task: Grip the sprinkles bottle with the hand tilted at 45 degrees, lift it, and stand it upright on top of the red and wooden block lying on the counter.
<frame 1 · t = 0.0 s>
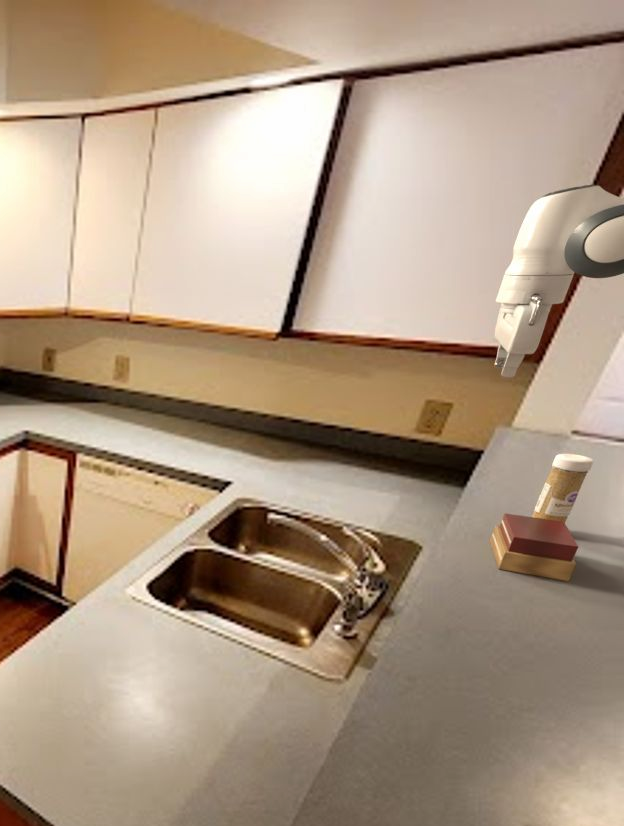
hand: (503, 371, 115), 25 cm above the countertop, tool pointing down, fingers open, 8 cm apart
red and wooden block: (526, 559, 101), on the countertop
sprinkles bottle: (543, 530, 110), on the countertop
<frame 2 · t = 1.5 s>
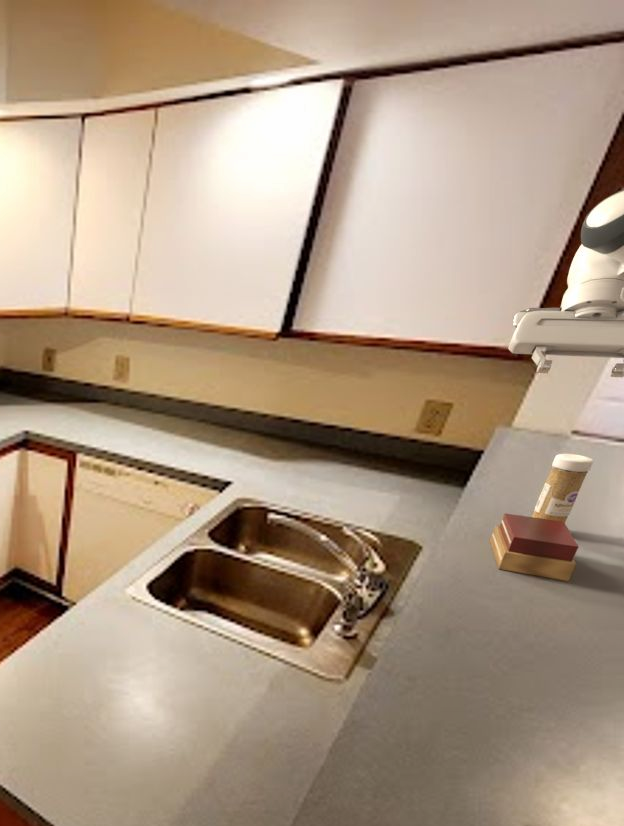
hand: (579, 373, 109), 25 cm above the countertop, tool tilted 45°, fingers open, 8 cm apart
nothing on the countertop moved.
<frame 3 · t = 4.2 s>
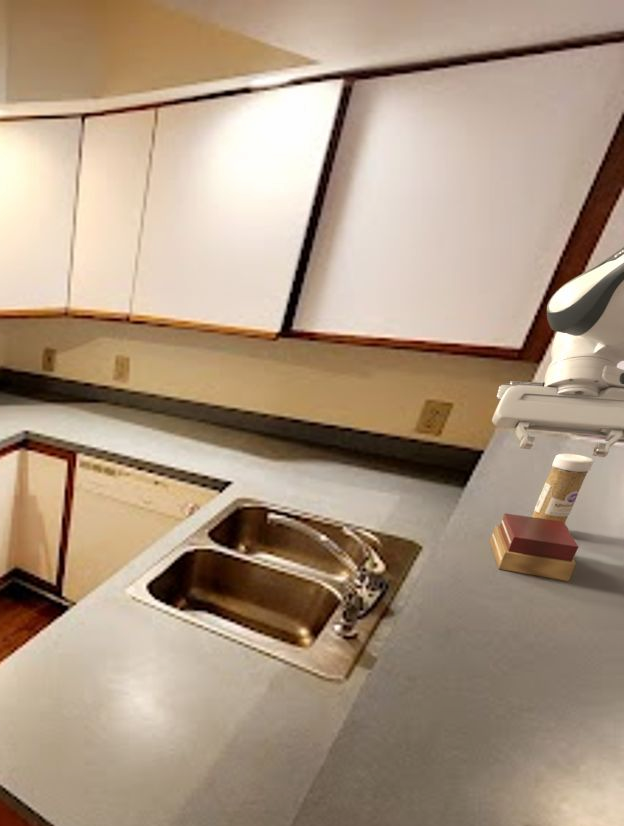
hand: (562, 451, 110), 13 cm above the countertop, tool tilted 45°, fingers open, 8 cm apart
nothing on the countertop moved.
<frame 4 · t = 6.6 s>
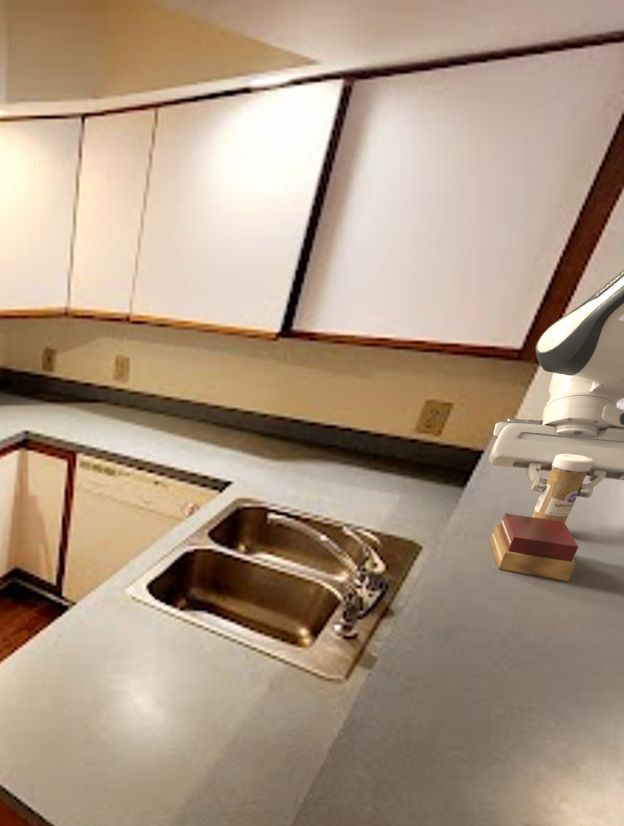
hand: (560, 492, 106), 7 cm above the countertop, tool tilted 45°, fingers closed on sprinkles bottle, 4 cm apart
sprinkles bottle: (543, 530, 110), on the countertop, touching gripper
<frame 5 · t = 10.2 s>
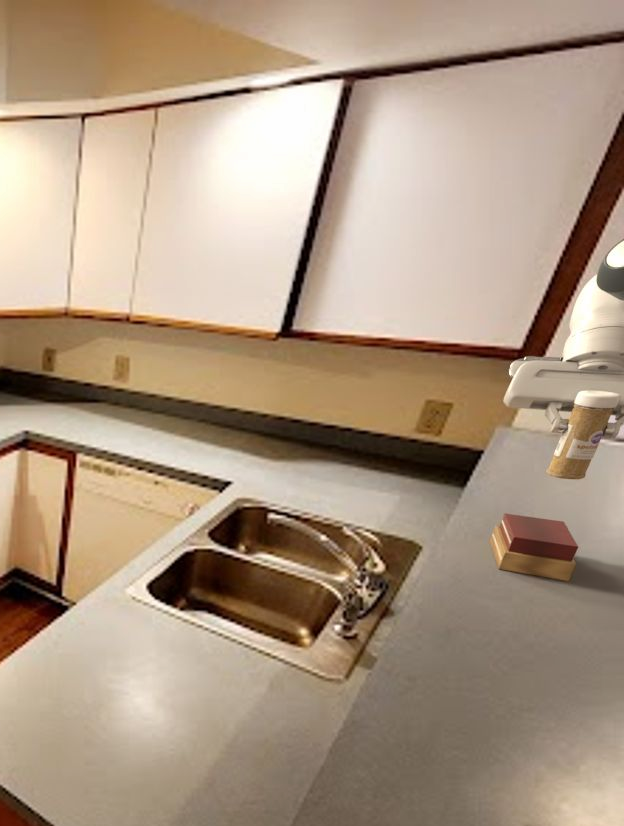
hand: (583, 433, 97), 19 cm above the countertop, tool tilted 45°, fingers closed on sprinkles bottle, 4 cm apart
sprinkles bottle: (564, 476, 101), point 12 cm above the countertop, touching gripper
when the fingers open (13 cm above the countertop, at t = 13.6 s): sprinkles bottle stays where it is, resting on red and wooden block.
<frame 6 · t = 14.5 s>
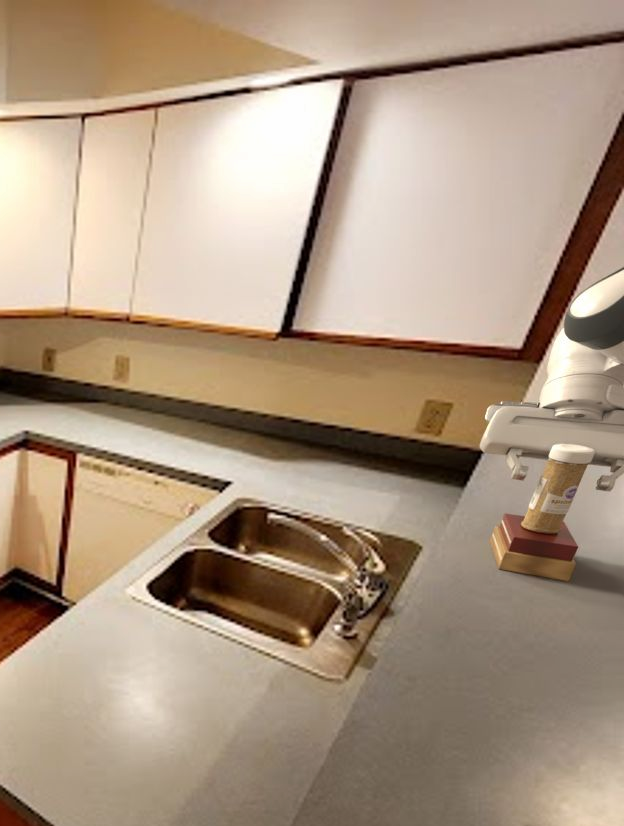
hand: (560, 483, 94), 13 cm above the countertop, tool tilted 45°, fingers open, 8 cm apart
sprinkles bottle: (538, 530, 98), point 5 cm above the countertop, touching red and wooden block
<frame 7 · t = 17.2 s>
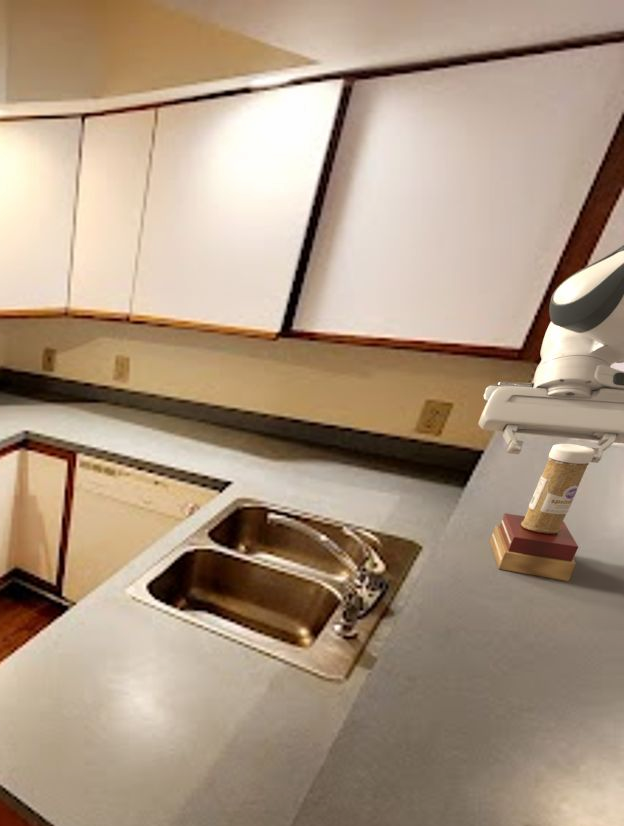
hand: (552, 456, 103), 14 cm above the countertop, tool tilted 45°, fingers open, 8 cm apart
nothing on the countertop moved.
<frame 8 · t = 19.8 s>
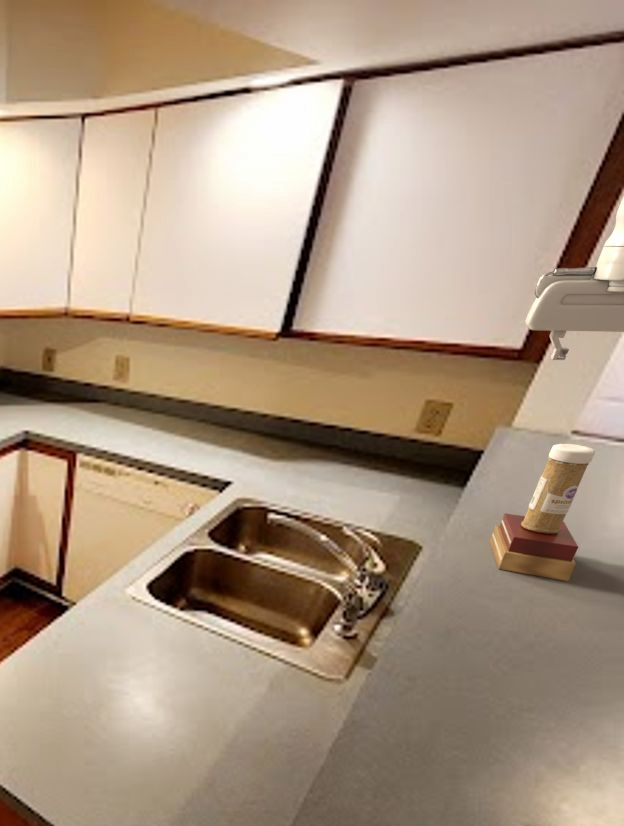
hand: (598, 361, 99), 29 cm above the countertop, tool pointing down, fingers open, 8 cm apart
nothing on the countertop moved.
at the end: sprinkles bottle inside the target area on the red and wooden block (0.0 cm from its centre), point 5.3 cm above the red and wooden block's base; sprinkles bottle tilted 0°; the gripper is holding nothing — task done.
